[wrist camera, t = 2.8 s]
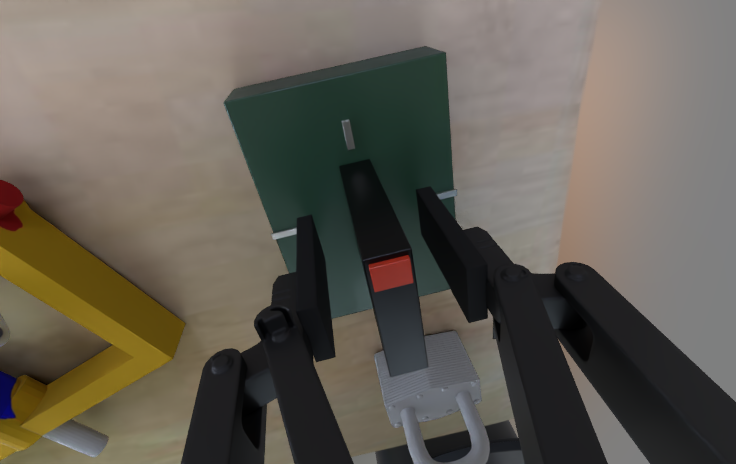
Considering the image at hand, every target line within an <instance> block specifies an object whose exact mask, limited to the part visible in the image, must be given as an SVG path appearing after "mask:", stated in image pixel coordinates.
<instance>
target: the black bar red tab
mask: <svg viewBox="0 0 736 464" xmlns="http://www.w3.org/2000/svg"><path fill="white" fill-rule="evenodd" d="M339 170H340V174H341V178H342V183H343V187H344V191H345V195H346V199H347V203H348V208H349V212H350V216H351V220H352V224H353V228H354V233H355V237H356V241H357V245H358V249H359V253H360V257H361V262H362V266H363V270H364V274H365V278H366V282H367V286H368V290H369V294H370V298H371V302H372V306H373V310H374V314H375V318H376V322H377V326H378V331H379V335H380V339H381V343H382V347H383V351H384V355H385V359H386V363H387V367H388V371H389V375H390V377H394V376H398V375H402V374H406V373H410V372H414V371H418V370H421V369H425V368H428V359H427V352H426V345H425V338H424V331H423V323H422V316H421V309H420V302H419V295H418V288H417V281H416V274H415V267H414V260H413V253H412V248H411V246H410V243H409V241H408V239H407V237H406V235H405V233H404V231H403V229H402V226H401V224H400V222H399V220H398V218H397V216H396V214H395V211H394V209H393V207H392V205H391V203H390V201H389V199H388V197H387V194H386V192H385V190H384V188H383V186H382V184H381V182H380V179H379V177H378V175H377V173H376V171H375V169H374V167H373V165H372V162H371V160H370V159H367V160H363V161H359V162H355V163H350V164H346V165H342V166H339Z"/></svg>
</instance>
